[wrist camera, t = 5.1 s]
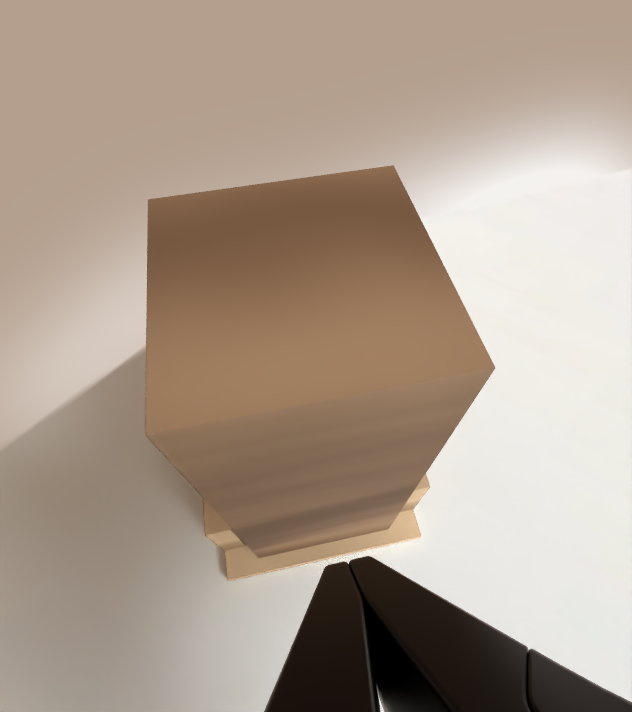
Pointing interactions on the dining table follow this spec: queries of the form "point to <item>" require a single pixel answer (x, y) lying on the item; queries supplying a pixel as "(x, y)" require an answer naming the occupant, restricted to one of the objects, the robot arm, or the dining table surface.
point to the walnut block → (303, 353)
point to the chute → (248, 564)
